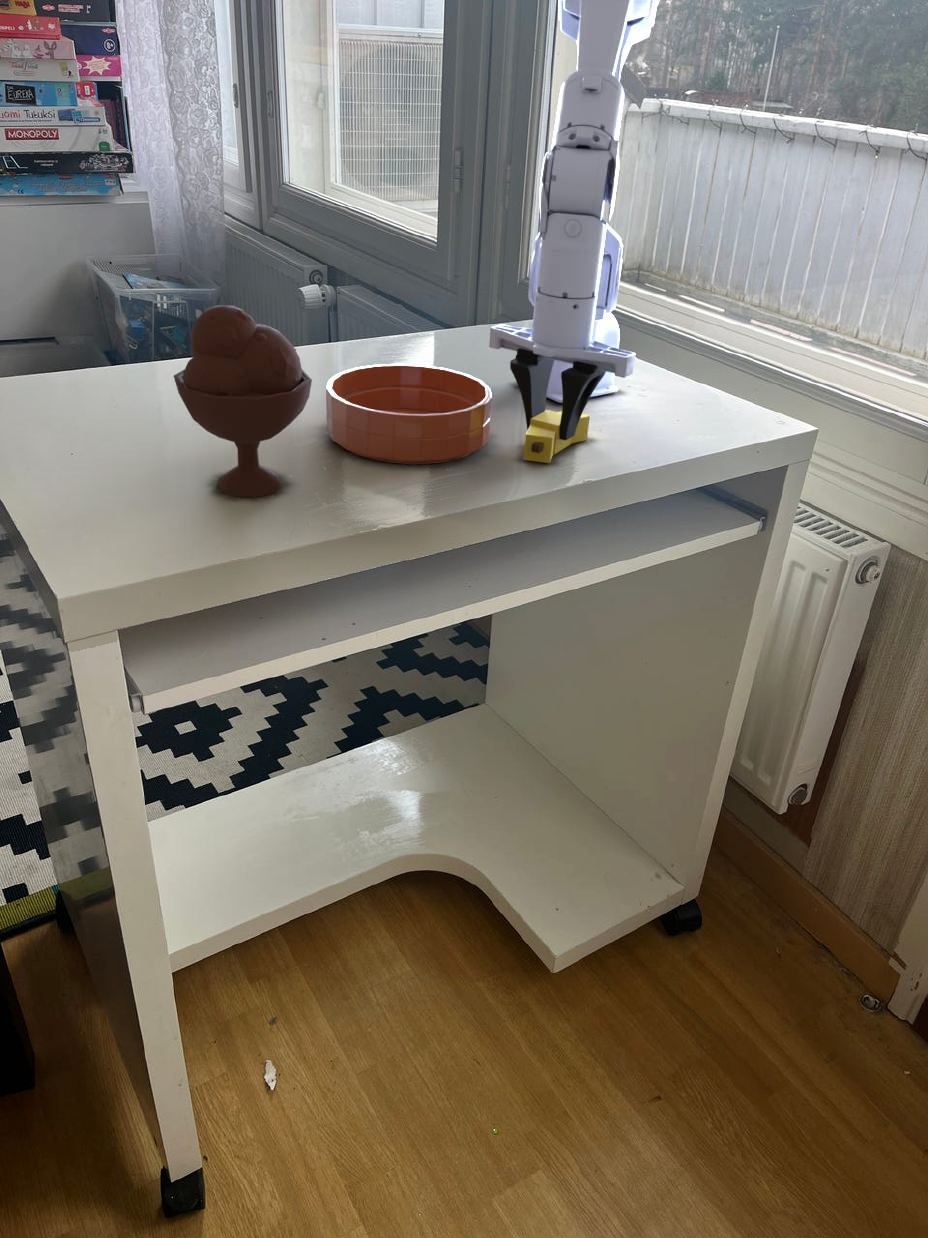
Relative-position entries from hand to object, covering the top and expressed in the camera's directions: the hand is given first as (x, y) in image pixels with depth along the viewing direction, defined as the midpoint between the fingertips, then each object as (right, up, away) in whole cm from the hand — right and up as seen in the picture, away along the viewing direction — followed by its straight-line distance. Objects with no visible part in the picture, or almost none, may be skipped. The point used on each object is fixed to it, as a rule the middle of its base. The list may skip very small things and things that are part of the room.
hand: (550, 432), depth 95 cm
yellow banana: (0, -1, +1) cm, 1 cm away
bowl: (-14, 0, 0) cm, 14 cm away
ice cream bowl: (-27, -7, -12) cm, 31 cm away
